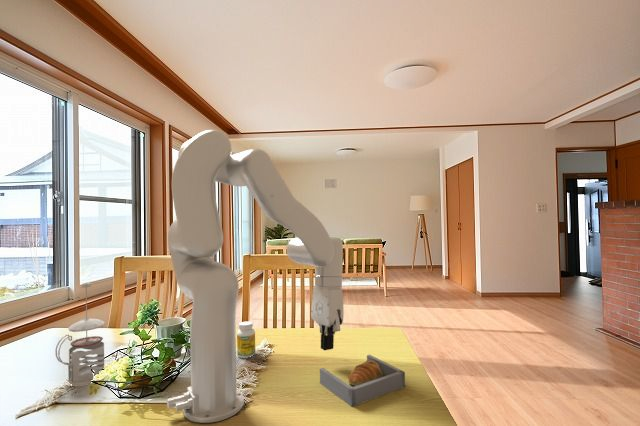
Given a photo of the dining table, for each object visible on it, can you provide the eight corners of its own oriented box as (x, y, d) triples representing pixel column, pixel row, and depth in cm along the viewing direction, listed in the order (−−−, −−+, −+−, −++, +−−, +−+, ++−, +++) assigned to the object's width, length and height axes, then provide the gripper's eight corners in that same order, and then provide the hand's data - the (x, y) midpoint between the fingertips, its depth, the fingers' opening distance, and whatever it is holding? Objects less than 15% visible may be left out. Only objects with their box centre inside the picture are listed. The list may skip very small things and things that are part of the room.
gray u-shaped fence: (351, 406, 76) (351, 390, 76) (320, 383, 87) (319, 368, 87) (405, 386, 84) (404, 372, 84) (369, 367, 95) (369, 354, 95)
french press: (116, 375, 93) (115, 281, 94) (65, 393, 84) (64, 289, 84) (98, 366, 99) (97, 278, 99) (49, 383, 89) (48, 285, 89)
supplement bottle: (252, 350, 109) (252, 319, 109) (257, 356, 104) (257, 324, 104) (235, 353, 106) (234, 322, 107) (239, 360, 102) (239, 326, 102)
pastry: (364, 392, 82) (363, 375, 82) (341, 383, 87) (341, 368, 87) (385, 378, 89) (384, 363, 89) (363, 370, 94) (362, 356, 94)
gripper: (303, 278, 101) (302, 343, 101) (332, 286, 89) (330, 360, 88) (325, 277, 105) (324, 339, 104) (355, 284, 93) (354, 355, 92)
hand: (327, 348), depth 96 cm, fingers closed
